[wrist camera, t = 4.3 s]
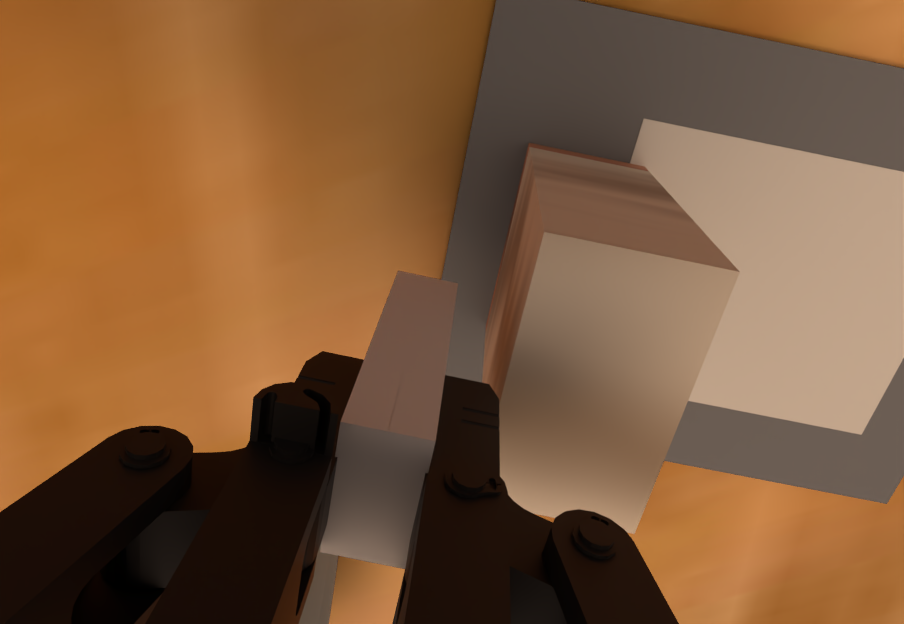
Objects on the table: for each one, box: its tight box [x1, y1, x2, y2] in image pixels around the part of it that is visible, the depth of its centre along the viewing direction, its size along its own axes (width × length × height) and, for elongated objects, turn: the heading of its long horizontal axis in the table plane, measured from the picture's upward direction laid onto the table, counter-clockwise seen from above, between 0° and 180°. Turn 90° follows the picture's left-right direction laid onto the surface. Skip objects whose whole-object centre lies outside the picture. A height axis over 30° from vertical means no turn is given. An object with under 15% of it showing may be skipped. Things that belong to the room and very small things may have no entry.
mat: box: [442, 0, 904, 504], centre depth 24 cm, size 16×20×1 cm
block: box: [482, 143, 740, 534], centre depth 19 cm, size 7×4×10 cm, turn 169°
